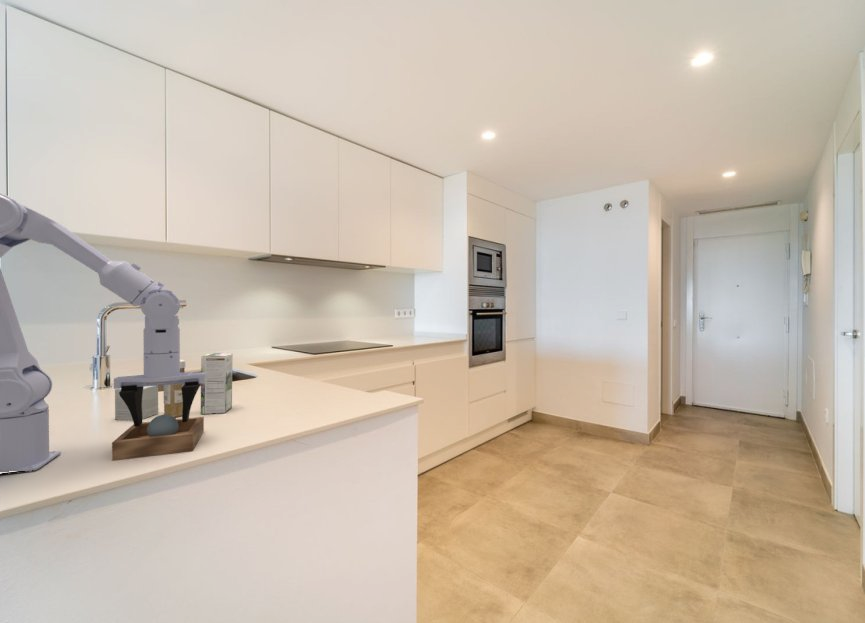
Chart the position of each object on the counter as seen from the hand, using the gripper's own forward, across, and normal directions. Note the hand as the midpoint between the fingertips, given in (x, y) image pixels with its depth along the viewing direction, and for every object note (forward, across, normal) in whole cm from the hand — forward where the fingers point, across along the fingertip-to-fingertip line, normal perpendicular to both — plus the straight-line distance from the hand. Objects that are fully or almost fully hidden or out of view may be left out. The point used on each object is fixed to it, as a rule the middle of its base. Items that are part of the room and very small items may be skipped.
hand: (162, 422), depth 75 cm
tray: (+4, 0, 0) cm, 4 cm away
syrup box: (+4, -7, -23) cm, 24 cm away
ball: (+3, 0, 0) cm, 4 cm away
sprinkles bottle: (+4, +2, -22) cm, 23 cm away
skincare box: (+4, +10, -24) cm, 27 cm away
